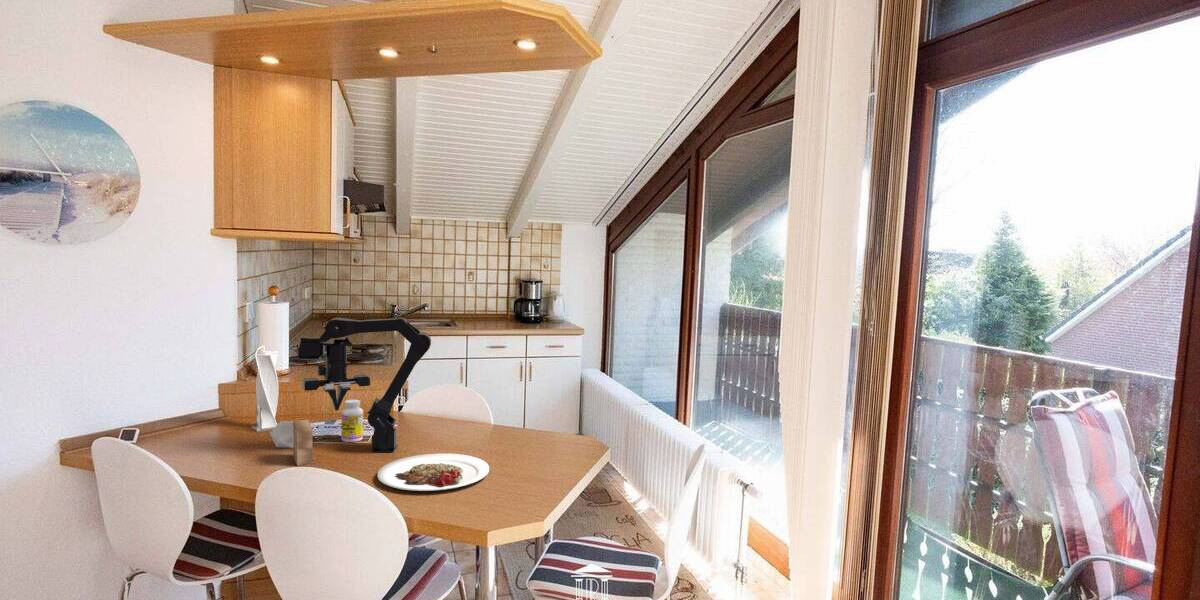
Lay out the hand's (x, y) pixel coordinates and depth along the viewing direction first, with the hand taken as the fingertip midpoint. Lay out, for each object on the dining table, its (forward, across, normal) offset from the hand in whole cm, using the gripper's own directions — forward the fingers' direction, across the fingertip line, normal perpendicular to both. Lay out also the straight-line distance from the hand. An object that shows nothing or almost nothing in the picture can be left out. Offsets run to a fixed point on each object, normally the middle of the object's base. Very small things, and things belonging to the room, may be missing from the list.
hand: (336, 410), depth 198 cm
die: (+13, +12, -13) cm, 22 cm away
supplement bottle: (+13, -7, -11) cm, 19 cm away
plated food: (+13, -19, +35) cm, 42 cm away
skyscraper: (+13, +16, -40) cm, 45 cm away
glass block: (+13, +10, +4) cm, 17 cm away
